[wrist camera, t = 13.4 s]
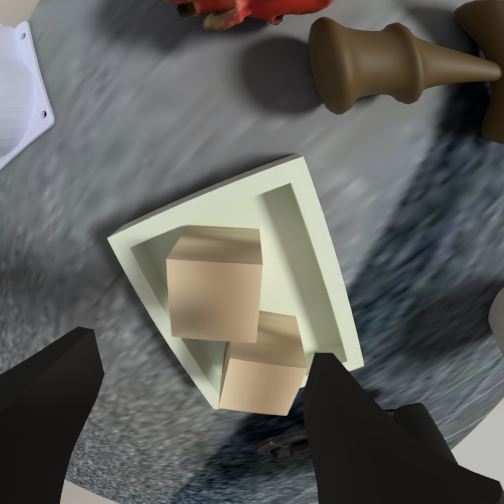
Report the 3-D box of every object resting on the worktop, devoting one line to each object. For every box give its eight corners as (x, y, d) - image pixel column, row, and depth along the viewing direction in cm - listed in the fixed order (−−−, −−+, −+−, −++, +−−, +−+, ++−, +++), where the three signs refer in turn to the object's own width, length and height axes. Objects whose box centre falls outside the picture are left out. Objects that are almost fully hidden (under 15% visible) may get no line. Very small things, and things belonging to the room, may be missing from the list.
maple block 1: (189, 288, 19) (171, 336, 14) (188, 224, 17) (166, 259, 12) (254, 292, 19) (256, 342, 14) (259, 228, 17) (262, 264, 13)
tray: (123, 224, 18) (107, 238, 15) (295, 153, 16) (303, 156, 14) (216, 386, 22) (214, 409, 20) (354, 343, 21) (364, 365, 19)
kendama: (287, 5, 14) (518, 31, 12) (320, 154, 17) (536, 139, 15) (300, -40, 8) (565, 24, 6) (350, 168, 12) (586, 153, 10)
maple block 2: (223, 353, 20) (218, 407, 16) (233, 305, 19) (229, 358, 14) (280, 362, 21) (286, 415, 16) (295, 316, 19) (308, 368, 15)
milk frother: (411, 440, 27) (448, 539, 13) (282, 477, 29) (290, 583, 15) (419, 363, 22) (493, 501, 8) (244, 414, 24) (242, 574, 10)
